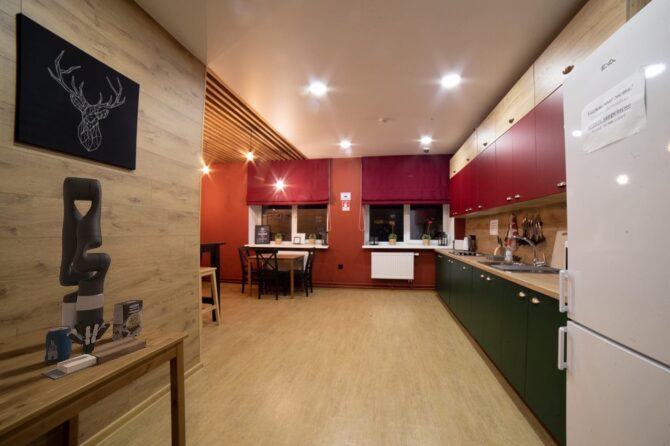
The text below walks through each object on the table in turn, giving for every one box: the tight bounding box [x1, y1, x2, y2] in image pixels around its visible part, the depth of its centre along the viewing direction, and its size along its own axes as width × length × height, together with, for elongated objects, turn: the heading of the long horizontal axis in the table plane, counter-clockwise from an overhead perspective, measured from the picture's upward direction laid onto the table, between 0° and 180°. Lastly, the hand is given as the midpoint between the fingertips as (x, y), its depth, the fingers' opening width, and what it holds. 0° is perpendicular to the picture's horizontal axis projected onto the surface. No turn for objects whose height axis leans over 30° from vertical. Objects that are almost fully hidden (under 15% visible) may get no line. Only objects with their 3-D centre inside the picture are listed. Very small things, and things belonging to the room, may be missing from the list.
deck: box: [81, 336, 147, 365], centre depth 106 cm, size 12×16×2 cm
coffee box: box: [111, 299, 144, 341], centre depth 122 cm, size 9×6×16 cm
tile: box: [56, 354, 96, 373], centre depth 94 cm, size 7×8×2 cm
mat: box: [41, 362, 99, 381], centre depth 93 cm, size 9×12×1 cm
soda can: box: [44, 325, 73, 365], centre depth 99 cm, size 7×7×12 cm
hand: (88, 353), depth 98 cm, fingers closed
